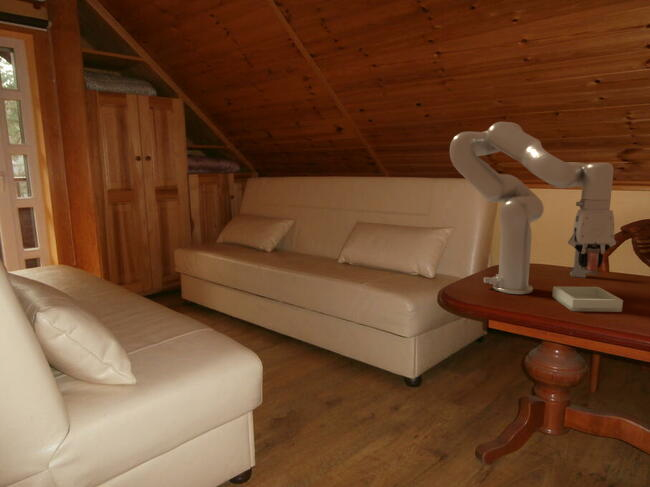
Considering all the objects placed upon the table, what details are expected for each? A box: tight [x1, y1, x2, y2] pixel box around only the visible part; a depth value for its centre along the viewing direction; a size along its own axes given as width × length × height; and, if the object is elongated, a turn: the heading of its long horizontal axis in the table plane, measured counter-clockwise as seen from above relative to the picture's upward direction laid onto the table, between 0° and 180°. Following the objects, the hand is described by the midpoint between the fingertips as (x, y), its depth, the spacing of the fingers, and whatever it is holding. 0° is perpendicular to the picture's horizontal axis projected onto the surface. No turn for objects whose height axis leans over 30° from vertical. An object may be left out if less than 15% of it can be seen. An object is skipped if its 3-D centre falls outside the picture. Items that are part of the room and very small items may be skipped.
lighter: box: [581, 242, 600, 276], centre depth 139 cm, size 8×3×10 cm, turn 169°
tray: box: [552, 285, 624, 313], centre depth 142 cm, size 14×14×4 cm
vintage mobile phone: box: [569, 241, 587, 279], centre depth 172 cm, size 4×5×25 cm
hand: (589, 265), depth 140 cm, fingers closed on lighter, 3 cm apart
